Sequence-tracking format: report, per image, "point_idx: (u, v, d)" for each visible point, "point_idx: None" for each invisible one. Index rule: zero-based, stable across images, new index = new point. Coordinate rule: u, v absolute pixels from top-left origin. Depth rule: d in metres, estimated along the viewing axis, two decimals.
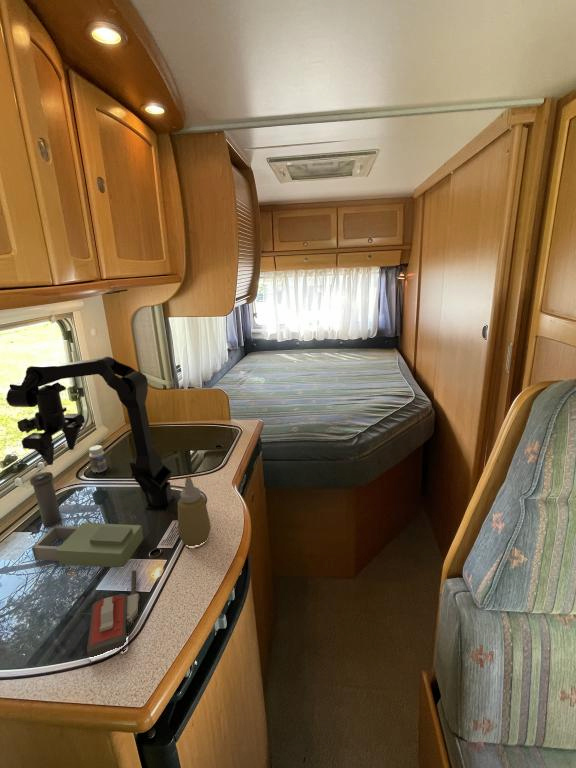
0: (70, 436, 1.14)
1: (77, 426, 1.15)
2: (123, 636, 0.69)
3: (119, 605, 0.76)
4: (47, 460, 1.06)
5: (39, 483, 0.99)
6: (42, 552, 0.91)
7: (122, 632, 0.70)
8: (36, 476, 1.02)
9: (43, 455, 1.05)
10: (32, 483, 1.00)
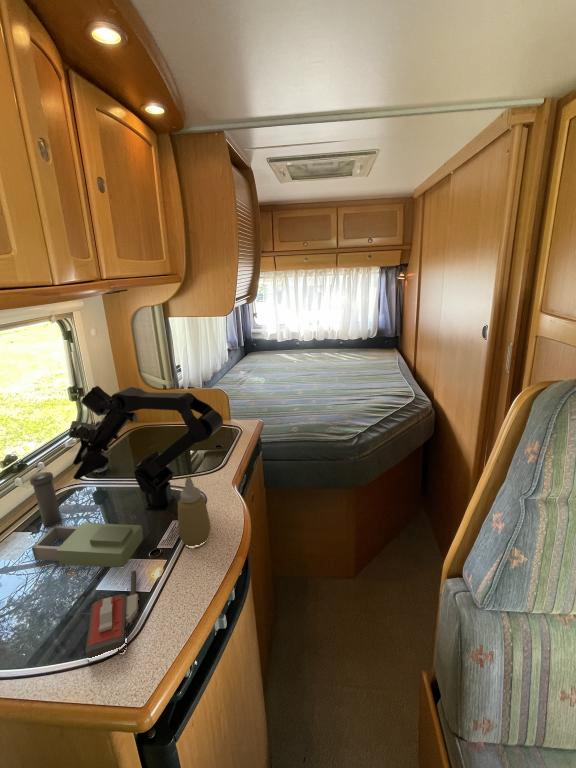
0: None
1: None
2: (122, 637, 0.69)
3: (118, 606, 0.75)
4: (78, 474, 1.01)
5: (39, 483, 1.00)
6: (42, 552, 0.91)
7: (121, 633, 0.70)
8: (36, 476, 1.02)
9: (82, 469, 1.01)
10: (32, 483, 1.00)
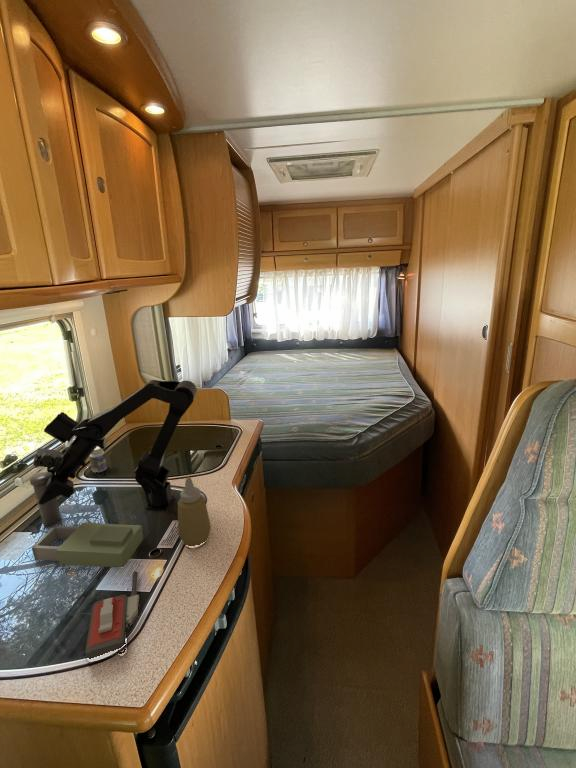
0: None
1: None
2: (122, 638, 0.69)
3: (119, 606, 0.75)
4: (43, 499, 1.01)
5: (39, 483, 0.99)
6: (42, 552, 0.91)
7: (121, 634, 0.70)
8: (36, 476, 1.02)
9: (46, 494, 1.00)
10: (32, 483, 1.00)
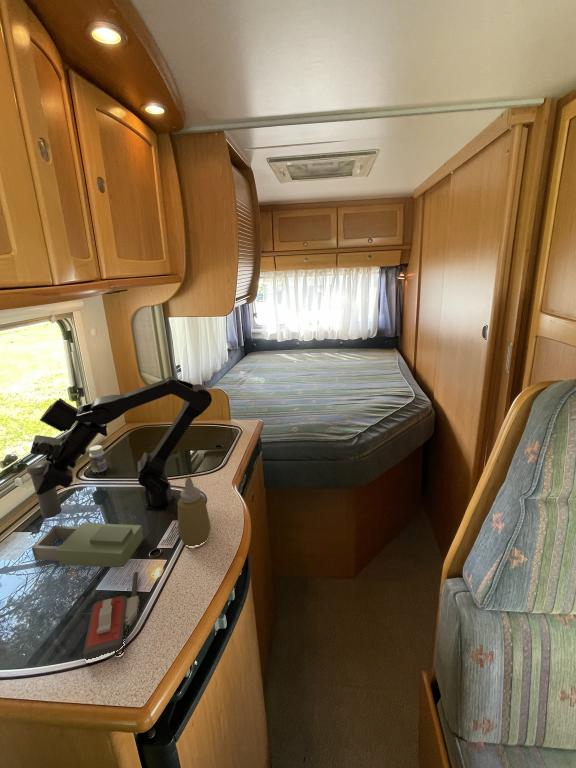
0: None
1: None
2: (119, 640, 0.69)
3: (118, 607, 0.75)
4: (42, 489, 0.95)
5: (37, 472, 0.94)
6: (42, 552, 0.91)
7: (119, 635, 0.70)
8: (34, 465, 0.96)
9: (45, 484, 0.94)
10: (29, 472, 0.94)
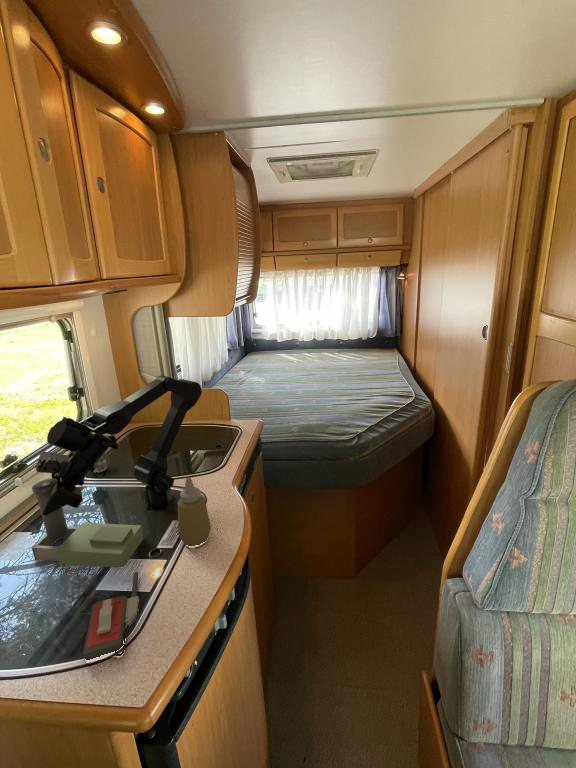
0: None
1: None
2: (120, 640, 0.69)
3: (118, 608, 0.75)
4: (48, 510, 0.89)
5: (43, 491, 0.88)
6: (42, 552, 0.91)
7: (119, 636, 0.70)
8: (39, 483, 0.90)
9: (51, 504, 0.88)
10: (35, 491, 0.88)
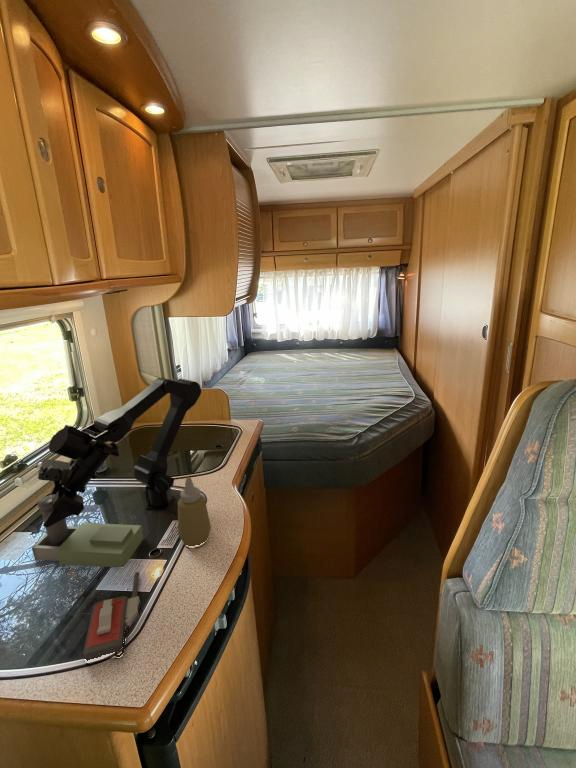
0: None
1: None
2: (119, 640, 0.69)
3: (118, 608, 0.75)
4: (49, 522, 0.88)
5: (48, 508, 0.89)
6: (42, 552, 0.91)
7: (119, 636, 0.69)
8: (45, 499, 0.91)
9: (53, 516, 0.87)
10: (40, 508, 0.89)
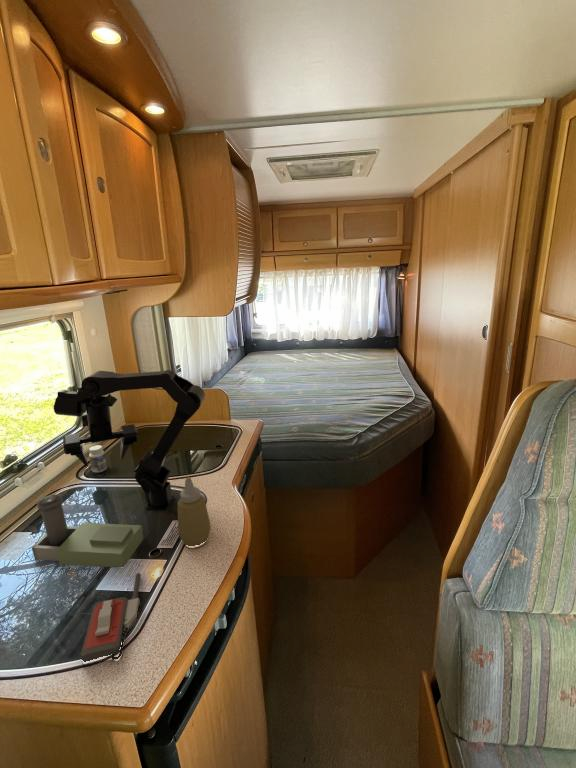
0: (121, 447, 1.11)
1: None
2: (117, 643, 0.68)
3: (118, 609, 0.75)
4: None
5: (47, 508, 0.89)
6: (42, 552, 0.91)
7: (117, 638, 0.69)
8: (44, 499, 0.92)
9: None
10: (39, 508, 0.89)
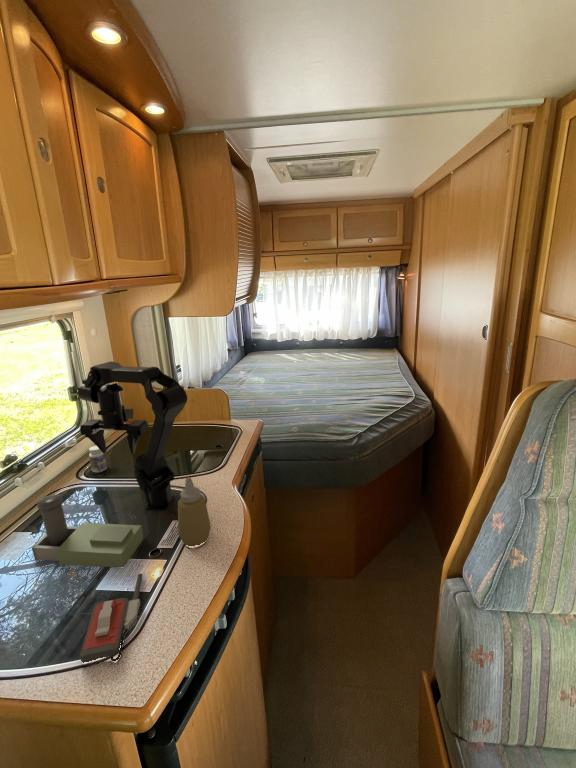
0: None
1: None
2: (116, 644, 0.68)
3: (118, 610, 0.74)
4: None
5: (47, 508, 0.89)
6: (42, 552, 0.91)
7: (116, 639, 0.69)
8: (44, 499, 0.92)
9: None
10: (39, 508, 0.89)
